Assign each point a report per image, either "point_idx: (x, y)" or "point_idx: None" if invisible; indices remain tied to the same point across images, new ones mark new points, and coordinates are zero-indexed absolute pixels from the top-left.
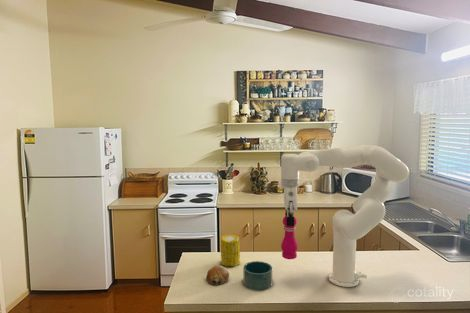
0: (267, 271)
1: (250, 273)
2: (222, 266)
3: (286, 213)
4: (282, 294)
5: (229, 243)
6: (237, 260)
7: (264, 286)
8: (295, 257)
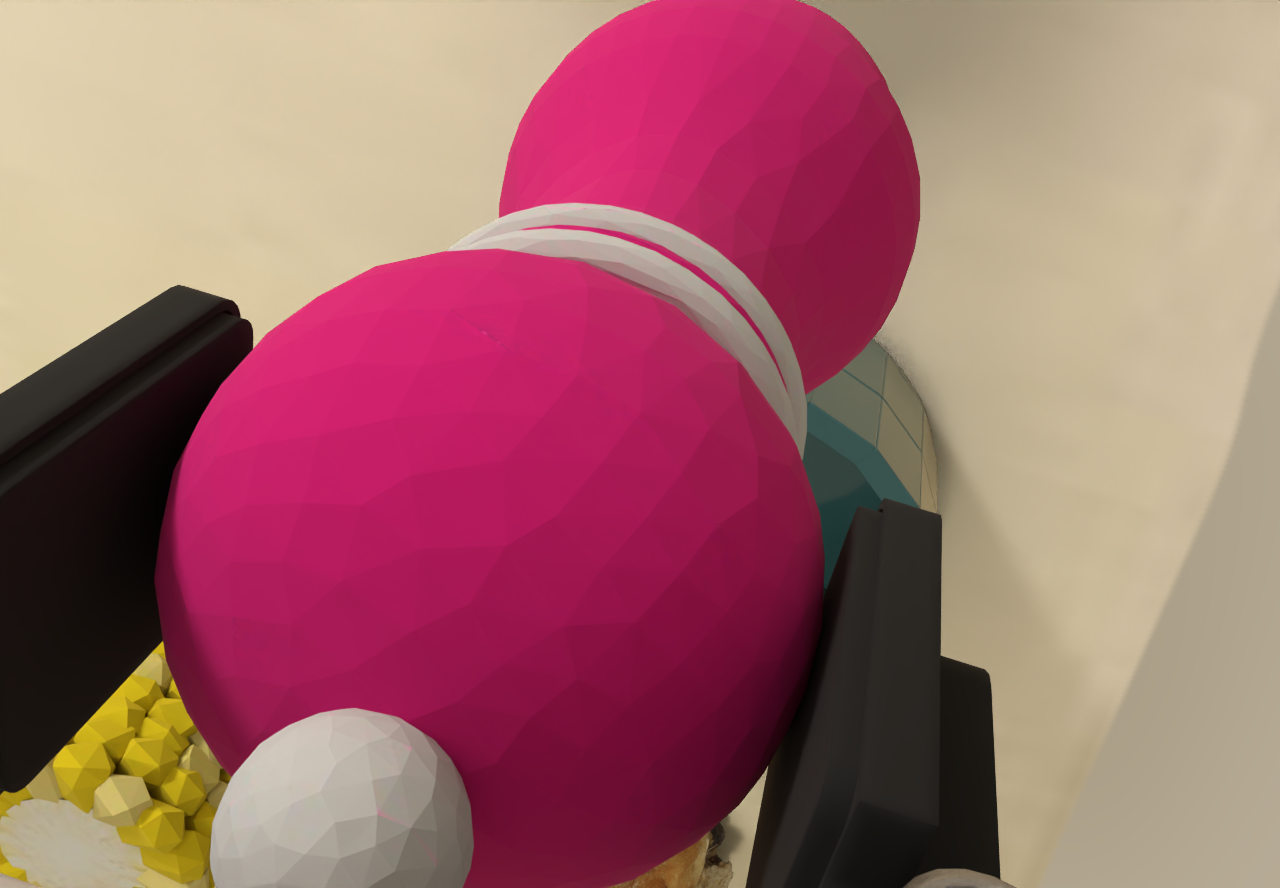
0: None
1: None
2: None
3: (23, 755)
4: (1120, 263)
5: (207, 877)
6: None
7: (931, 457)
8: (869, 58)
